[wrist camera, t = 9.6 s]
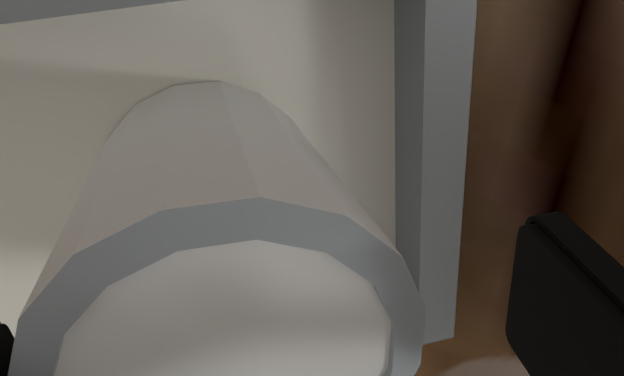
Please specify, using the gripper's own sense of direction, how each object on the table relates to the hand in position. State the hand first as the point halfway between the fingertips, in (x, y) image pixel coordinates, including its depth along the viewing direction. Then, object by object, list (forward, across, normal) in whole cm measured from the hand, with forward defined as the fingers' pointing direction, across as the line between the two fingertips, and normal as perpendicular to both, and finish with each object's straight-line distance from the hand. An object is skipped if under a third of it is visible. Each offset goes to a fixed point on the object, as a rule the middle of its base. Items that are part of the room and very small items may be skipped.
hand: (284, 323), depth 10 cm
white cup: (+6, +1, 0) cm, 6 cm away
